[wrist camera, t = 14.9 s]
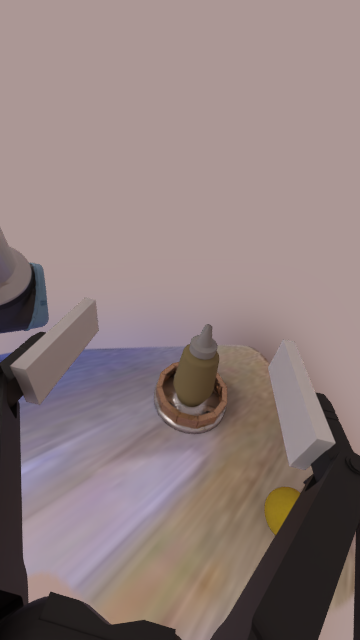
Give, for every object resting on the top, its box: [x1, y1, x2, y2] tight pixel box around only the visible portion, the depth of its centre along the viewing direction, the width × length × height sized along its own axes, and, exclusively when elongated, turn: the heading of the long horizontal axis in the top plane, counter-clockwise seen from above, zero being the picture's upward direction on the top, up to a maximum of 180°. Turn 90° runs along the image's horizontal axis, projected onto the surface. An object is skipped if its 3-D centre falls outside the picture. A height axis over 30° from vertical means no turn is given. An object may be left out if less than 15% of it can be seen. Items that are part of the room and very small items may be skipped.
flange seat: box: [154, 362, 227, 434], centre depth 45 cm, size 15×15×4 cm
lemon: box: [265, 487, 300, 535], centre depth 29 cm, size 6×6×8 cm
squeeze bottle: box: [173, 324, 219, 407], centre depth 40 cm, size 8×8×18 cm
